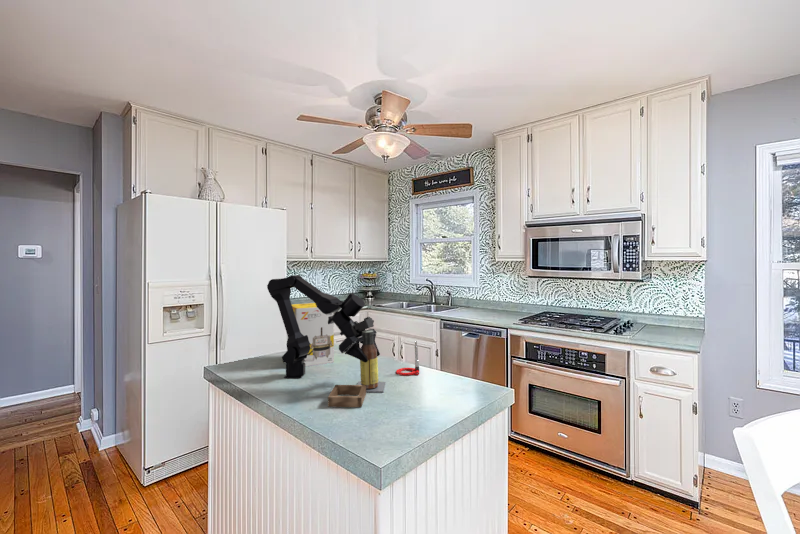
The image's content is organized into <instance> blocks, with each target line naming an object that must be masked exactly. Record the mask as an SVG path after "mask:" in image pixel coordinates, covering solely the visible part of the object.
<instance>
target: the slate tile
mask: <svg viewBox="0 0 800 534" xmlns="http://www.w3.org/2000/svg"><path fill="white" fill-rule="evenodd" d="M386 384H387V383H386V381H378V387H376V388H374V389H366V394H367V393H369V394H370V393H374V394H375V393H379V394H382V393H383V394H384V393H385V392H384V391H385V388H386ZM356 385H361V380H359V381H358V382H357V384H356Z"/></svg>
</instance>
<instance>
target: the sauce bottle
mask: <svg viewBox="0 0 800 534" xmlns="http://www.w3.org/2000/svg"><path fill="white" fill-rule="evenodd" d="M373 335H374V332H373V330H368V329H365V330H364V331H362V336H363V344H361V346H360V348H361V350H362V351H363V353H364V354H365V356H366V358H367V359H368V361H367V362H366V363H365V362H363V361H361V360H359V365H360V366H359V367H360V370H359V371H360V381H361V385H366V389H374V388H376V387H378V382H379V363H378V362H379V361H378V357H379V356H377V348H378V347H377V348H376V347H375V345H374V341H373Z"/></svg>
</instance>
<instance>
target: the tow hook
mask: <svg viewBox="0 0 800 534" xmlns="http://www.w3.org/2000/svg"><path fill="white" fill-rule="evenodd" d="M419 362H420V361H419V350H418V342H417V340H415V341H414V368H413V367H402V368H398V369H396V371H395V373H396V375H398V374H399V375H400V376H404V377H405V376H414V375H416V376H419V375H420V364H419ZM405 370H406V371H409V372H406V371H405Z"/></svg>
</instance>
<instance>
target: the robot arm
mask: <svg viewBox="0 0 800 534" xmlns="http://www.w3.org/2000/svg"><path fill="white" fill-rule="evenodd" d="M266 287H267V290H268V293H269V294H270V297H271V298H272V299H273V300H274V301H275V302H276V304H277V307H278V309H279V314H280V316H281V319H282V322H283V325H284V329H285V332H286V336H287V341H286V349H287V350H286V352H285V353H284V354H282V356H281V360H282V363H284V364H285V375H284V376H283V377H284V379H301V378H302V377H304V375H305V374H306V367H305V363H304V359H305V358H307V355H308V353H309V351H310V345H311V344H310V342H309V339H308V336H307V335H305V336H304V335H303V334H301V332H300V329H299V326H298V323H297V320H296V317H295V314H294V311H293V308H292V305H291V304H292V302H291V298H290V297H291V293H292V288H295V289H296V290H297V291H299V292H300V293H301V294H303V295H304V296H306V297H307V298H309V299H310V300H311V301H313V303H315V304H316V306H317V308H318V309H319V310H320V311H321V312H322V313H324V314H330V313H334V315H333V316H330V317H328V318H329V319H328V324H332V323H334V324H335V325H336V327H337V328H338V330H339V331H340V333H339V335H341V336H344V338H345V339H344V340H342V342H340V344H338V351H339V352H340V353H341V354H345V355H348V356H350V357H353V358H355V359H357V360H359V361H360V360H361V361H363V362H365V363H366V362H367V361H368V359H367V358H366V356H365V354H364V353H363V351H362V350H361V346H360V344H361V345H363V336H362V331H364V330H373V332H374V335H373V341H374V345H375V347H376V348H377V357H379V356H380V355H381V353H380V350H379V348H378V346H377V343H376V337H377V333H378V332H377V330H375V329H374V327H375V325H374V322H375V320H374V319H373V318H371V317H370V316H366V317H365V318H363V320H362V321H360V322H358V320H357V321H354V320H353V319H352V318H353V317H357V315H358V313H360V311H361V310H362V309H363V308H364V307H365V305H366V303H365V302H364V301H365V300H363V299H362V298H360V297H359V296H358V295H355V293H354V292H352V293H349V294H348V295H347V297H346V298H345V299H344V300H340V299H339V298H338V297H337V296H334V295H332V294H329V293H325V292H323V291H321V290H320V289H319V288H317V287H316V286H314V285H313V284H311V283H310V282H309V281H307V280H306V279H304V278H303V277H302V276H301V275H300V274H298V275H297V274H296V275H289V276H287V277H284V278H283V277H282V278H272V279H270V280H269V281H268V283H267V284H266Z"/></svg>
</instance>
